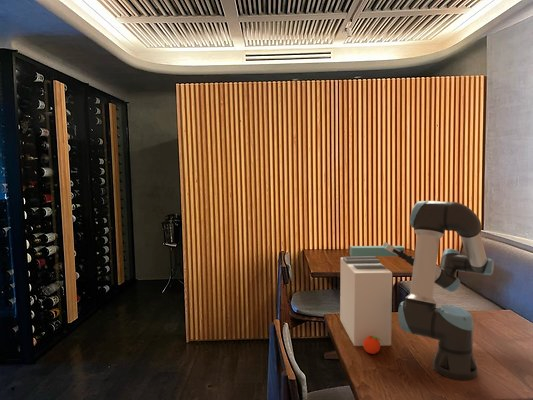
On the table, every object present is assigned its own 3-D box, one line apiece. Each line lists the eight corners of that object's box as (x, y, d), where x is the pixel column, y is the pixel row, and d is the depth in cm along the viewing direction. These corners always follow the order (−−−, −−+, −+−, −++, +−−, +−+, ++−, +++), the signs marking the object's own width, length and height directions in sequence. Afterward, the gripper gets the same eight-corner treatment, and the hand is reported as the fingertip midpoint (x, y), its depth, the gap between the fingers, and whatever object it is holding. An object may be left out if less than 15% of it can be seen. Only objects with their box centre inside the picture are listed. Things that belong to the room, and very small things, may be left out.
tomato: (382, 350, 169) (383, 334, 169) (383, 358, 163) (383, 341, 162) (363, 348, 171) (363, 332, 171) (362, 355, 165) (362, 339, 164)
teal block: (400, 254, 188) (401, 245, 188) (404, 256, 184) (404, 247, 184) (349, 254, 188) (349, 246, 187) (351, 256, 184) (351, 247, 183)
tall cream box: (371, 319, 204) (372, 254, 201) (391, 345, 174) (392, 269, 172) (340, 319, 204) (340, 254, 201) (354, 346, 174) (354, 269, 171)
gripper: (431, 282, 179) (386, 256, 177) (416, 272, 196) (375, 248, 194) (440, 267, 178) (395, 241, 177) (424, 258, 195) (383, 235, 194)
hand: (385, 245), depth 186 cm, fingers closed on teal block, 4 cm apart
